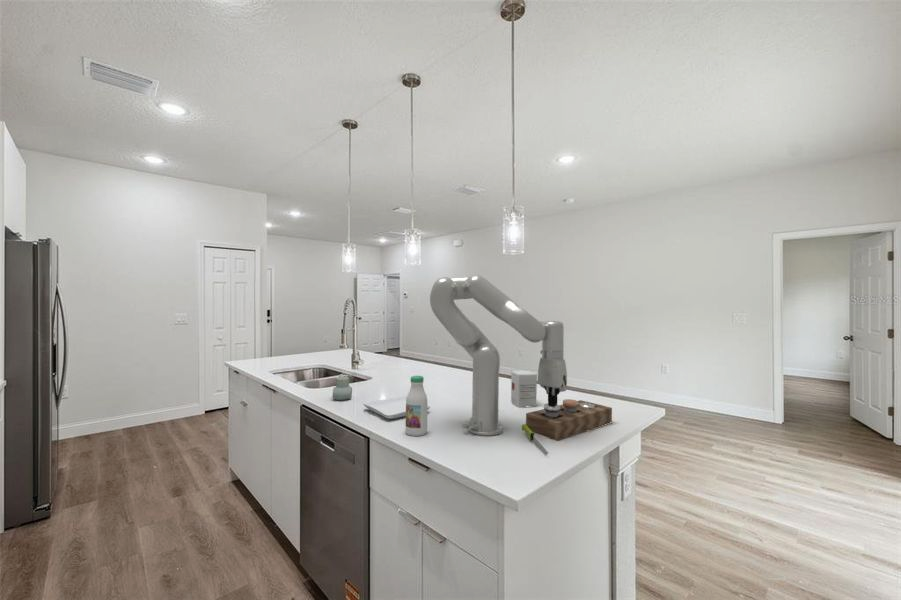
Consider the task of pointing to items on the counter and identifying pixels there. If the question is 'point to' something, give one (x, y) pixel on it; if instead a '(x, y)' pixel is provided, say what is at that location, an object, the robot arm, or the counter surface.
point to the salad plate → (389, 407)
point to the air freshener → (342, 389)
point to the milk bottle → (416, 408)
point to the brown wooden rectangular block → (568, 421)
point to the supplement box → (523, 388)
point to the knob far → (587, 405)
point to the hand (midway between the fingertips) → (552, 405)
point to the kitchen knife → (533, 438)
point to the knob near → (551, 411)
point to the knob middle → (570, 406)
